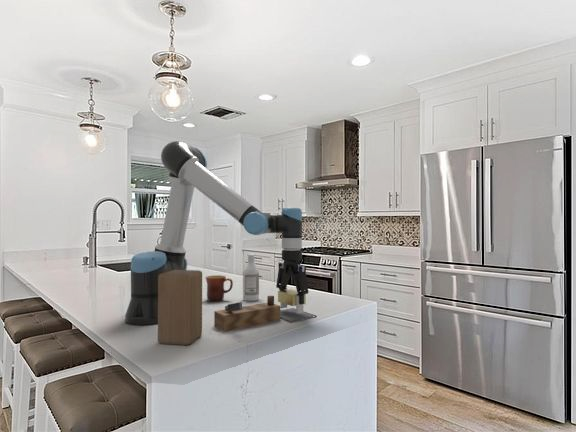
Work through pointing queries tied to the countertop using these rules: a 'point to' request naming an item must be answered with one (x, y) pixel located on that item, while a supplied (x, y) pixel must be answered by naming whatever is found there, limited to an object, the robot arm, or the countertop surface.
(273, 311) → the plane body
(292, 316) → the mat
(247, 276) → the bath foam
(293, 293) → the pale yellow block
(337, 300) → the countertop surface
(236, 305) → the lever
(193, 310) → the block
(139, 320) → the robot arm
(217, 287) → the mug
